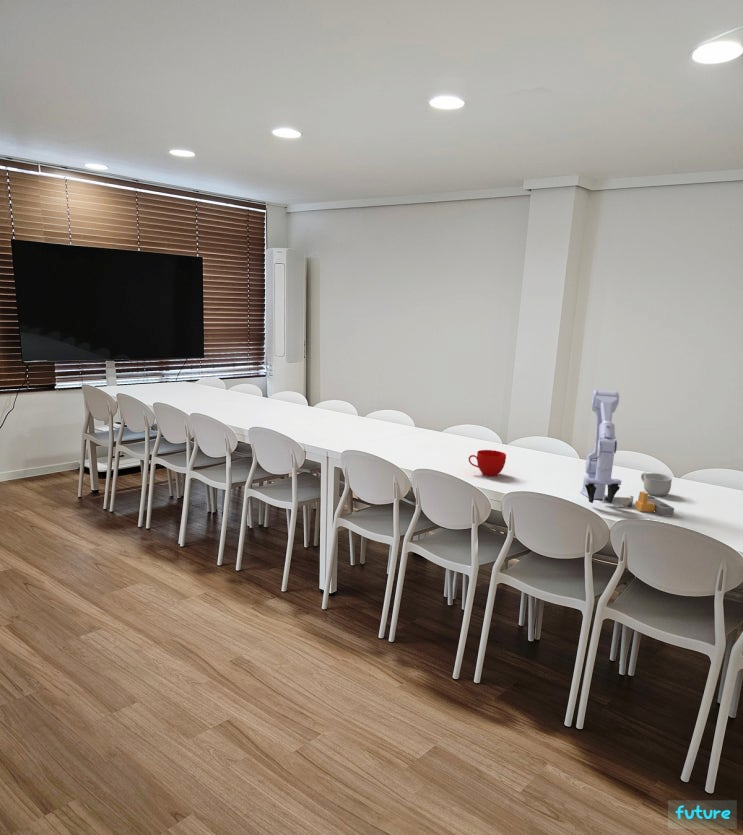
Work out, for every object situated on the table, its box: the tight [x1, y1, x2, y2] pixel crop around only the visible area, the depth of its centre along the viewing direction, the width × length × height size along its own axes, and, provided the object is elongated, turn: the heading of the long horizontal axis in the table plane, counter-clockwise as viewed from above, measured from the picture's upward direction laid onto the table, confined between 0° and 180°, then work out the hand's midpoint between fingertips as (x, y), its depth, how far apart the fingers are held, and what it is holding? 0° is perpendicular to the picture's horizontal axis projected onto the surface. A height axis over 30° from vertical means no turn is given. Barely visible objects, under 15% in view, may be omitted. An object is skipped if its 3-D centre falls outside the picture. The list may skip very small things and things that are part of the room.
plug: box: [635, 491, 655, 513], centre depth 240 cm, size 4×6×7 cm
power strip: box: [637, 494, 675, 517], centre depth 243 cm, size 16×5×3 cm, turn 8°
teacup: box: [640, 472, 673, 497], centre depth 265 cm, size 14×11×8 cm
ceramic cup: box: [468, 449, 507, 477], centre depth 279 cm, size 13×17×10 cm
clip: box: [602, 495, 634, 508], centre depth 244 cm, size 12×2×4 cm, turn 92°
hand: (600, 502), depth 241 cm, fingers open, 7 cm apart
